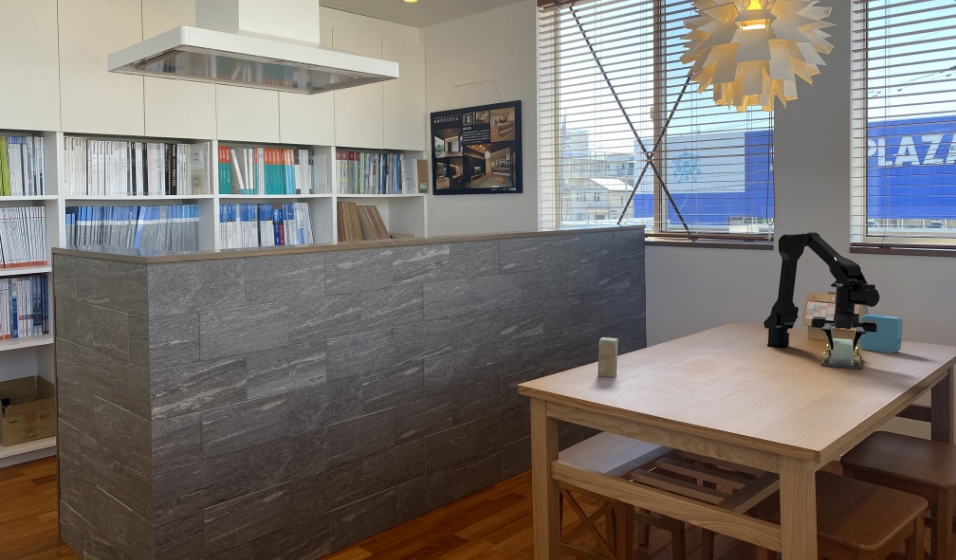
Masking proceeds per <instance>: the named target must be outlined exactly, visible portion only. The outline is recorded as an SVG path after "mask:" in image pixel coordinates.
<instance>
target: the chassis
mask: <svg viewBox="0 0 956 560" xmlns="http://www.w3.org/2000/svg"><path fill="white" fill-rule="evenodd" d="M854 352H855V354H853V358H848V357H836V356H833V352H832V350H831V347H830V344H826V347H825V351H823V353H822V355H823V356H822V361H821V362H820V365H821V366H822V367H831V368H839V369H840V368H842V369H851V370H859V371H860V370H861V367H862V361H863V356H862V348H861V347H860V346H856V347H855V351H854Z"/></svg>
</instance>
